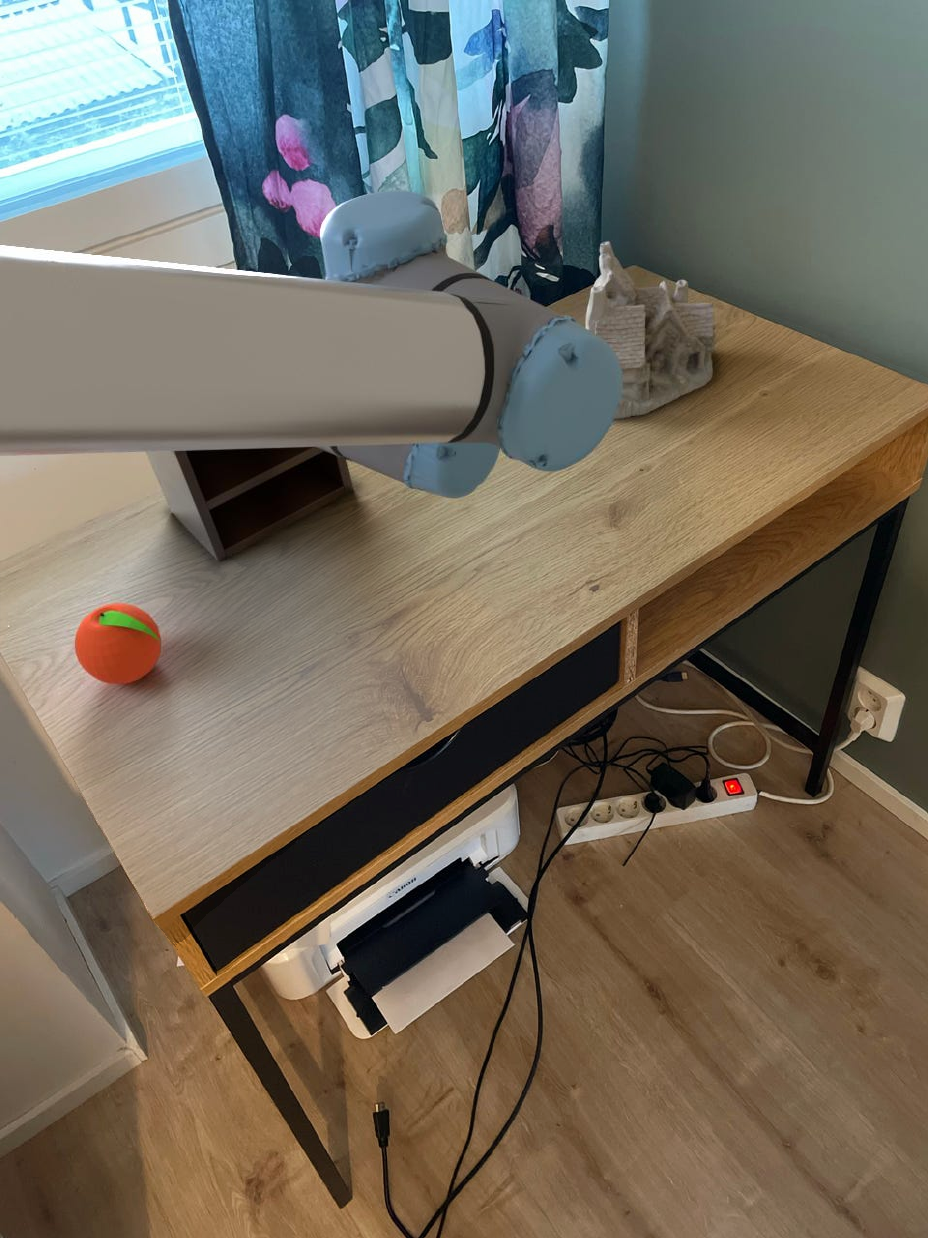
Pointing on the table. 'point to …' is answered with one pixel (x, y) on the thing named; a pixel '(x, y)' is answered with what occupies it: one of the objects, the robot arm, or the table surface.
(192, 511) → the shelf
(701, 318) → the ceramic cottage
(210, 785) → the table surface
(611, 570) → the table surface
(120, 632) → the clementine
